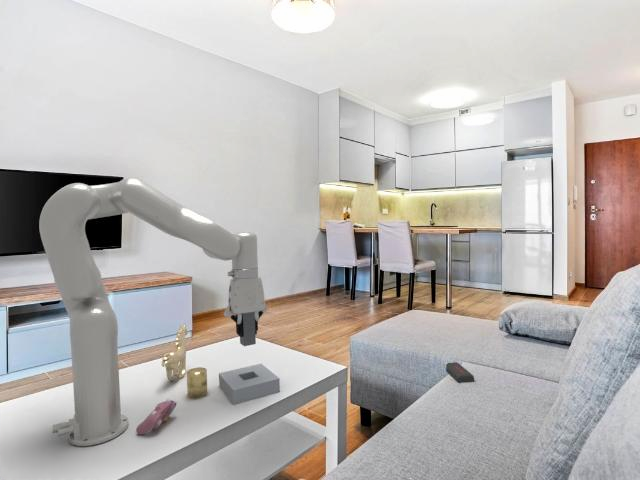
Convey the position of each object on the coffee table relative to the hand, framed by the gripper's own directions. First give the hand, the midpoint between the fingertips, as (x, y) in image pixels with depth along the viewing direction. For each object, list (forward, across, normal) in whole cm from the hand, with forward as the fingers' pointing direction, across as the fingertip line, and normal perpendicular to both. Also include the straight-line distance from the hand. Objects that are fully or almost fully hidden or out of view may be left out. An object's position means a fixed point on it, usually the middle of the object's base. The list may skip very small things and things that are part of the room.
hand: (247, 334), depth 112 cm
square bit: (+3, 0, 0) cm, 3 cm away
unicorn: (+17, -17, +20) cm, 31 cm away
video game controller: (+17, -26, -7) cm, 32 cm away
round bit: (+17, -14, +5) cm, 22 cm away
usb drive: (+17, +60, -28) cm, 68 cm away
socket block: (+17, 0, 0) cm, 17 cm away
